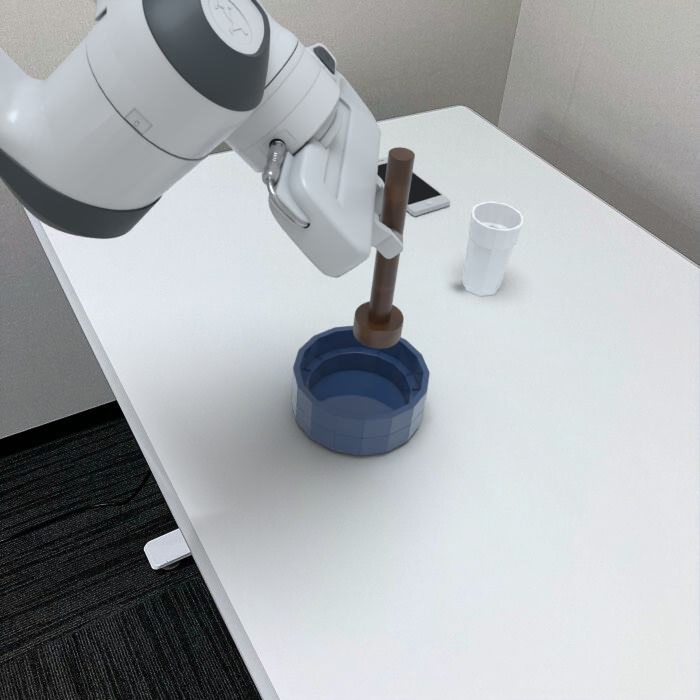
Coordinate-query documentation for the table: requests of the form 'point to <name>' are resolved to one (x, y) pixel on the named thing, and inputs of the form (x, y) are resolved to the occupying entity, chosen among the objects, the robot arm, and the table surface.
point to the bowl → (358, 392)
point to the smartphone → (418, 193)
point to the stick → (387, 260)
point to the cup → (490, 246)
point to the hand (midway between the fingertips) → (397, 238)
